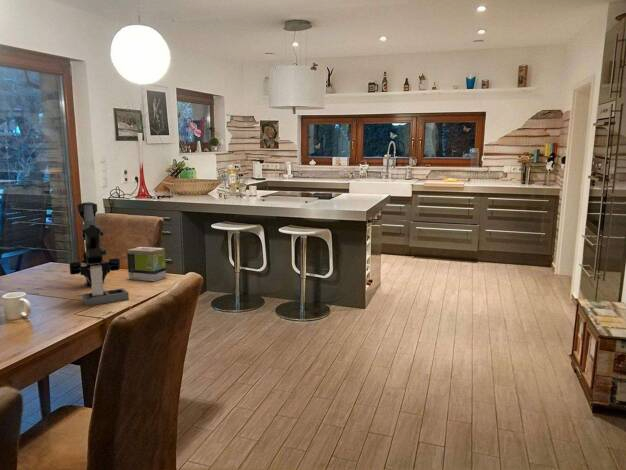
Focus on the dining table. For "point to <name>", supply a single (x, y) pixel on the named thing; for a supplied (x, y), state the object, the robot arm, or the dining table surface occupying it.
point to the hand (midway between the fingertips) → (97, 283)
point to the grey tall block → (96, 280)
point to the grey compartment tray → (106, 297)
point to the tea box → (146, 263)
